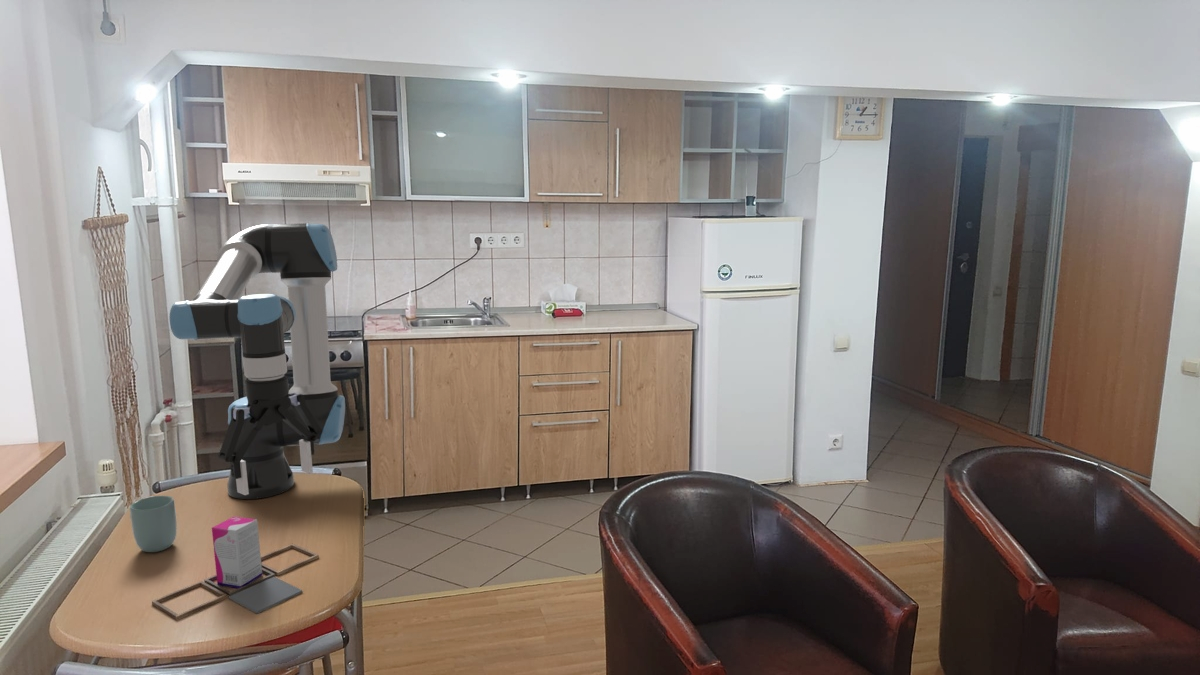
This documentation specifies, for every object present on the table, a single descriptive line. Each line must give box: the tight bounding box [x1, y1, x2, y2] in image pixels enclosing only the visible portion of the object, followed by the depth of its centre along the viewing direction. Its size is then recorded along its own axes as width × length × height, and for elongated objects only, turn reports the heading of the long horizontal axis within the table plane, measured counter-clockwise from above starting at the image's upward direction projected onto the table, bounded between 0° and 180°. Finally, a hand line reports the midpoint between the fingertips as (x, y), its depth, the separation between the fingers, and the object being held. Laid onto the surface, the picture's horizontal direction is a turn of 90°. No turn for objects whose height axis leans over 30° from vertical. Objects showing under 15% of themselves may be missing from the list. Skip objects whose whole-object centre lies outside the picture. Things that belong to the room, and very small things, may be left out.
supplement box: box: [211, 516, 263, 589], centre depth 148 cm, size 6×6×12 cm
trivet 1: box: [151, 580, 229, 621], centre depth 141 cm, size 9×9×1 cm
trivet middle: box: [203, 568, 276, 597], centre depth 149 cm, size 9×9×1 cm
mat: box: [228, 576, 303, 614], centre depth 143 cm, size 9×9×1 cm
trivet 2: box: [260, 543, 320, 576], centre depth 156 cm, size 9×9×1 cm
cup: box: [129, 495, 178, 553], centre depth 161 cm, size 8×8×10 cm
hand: (276, 482), depth 153 cm, fingers open, 13 cm apart
